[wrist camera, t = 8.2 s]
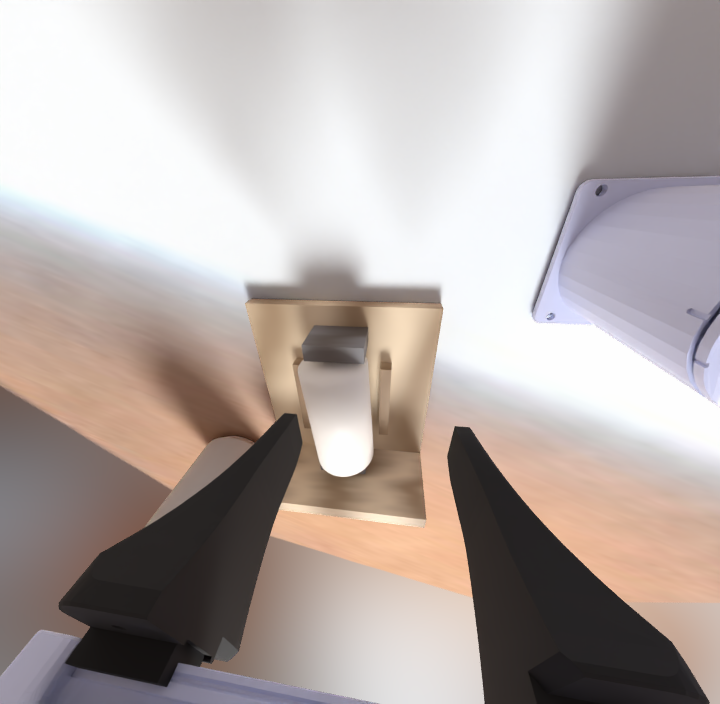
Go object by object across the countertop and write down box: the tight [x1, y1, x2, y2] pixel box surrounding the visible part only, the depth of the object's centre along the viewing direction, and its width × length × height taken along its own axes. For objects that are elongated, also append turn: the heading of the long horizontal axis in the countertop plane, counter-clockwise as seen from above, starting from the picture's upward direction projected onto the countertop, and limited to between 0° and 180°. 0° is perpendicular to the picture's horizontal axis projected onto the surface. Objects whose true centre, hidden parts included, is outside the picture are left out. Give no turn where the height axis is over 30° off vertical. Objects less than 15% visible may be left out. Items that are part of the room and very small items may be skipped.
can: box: [144, 436, 254, 528], centre depth 25 cm, size 8×8×12 cm
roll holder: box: [245, 299, 443, 528], centre depth 20 cm, size 14×16×7 cm
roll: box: [298, 357, 374, 477], centre depth 20 cm, size 5×9×5 cm, turn 5°
